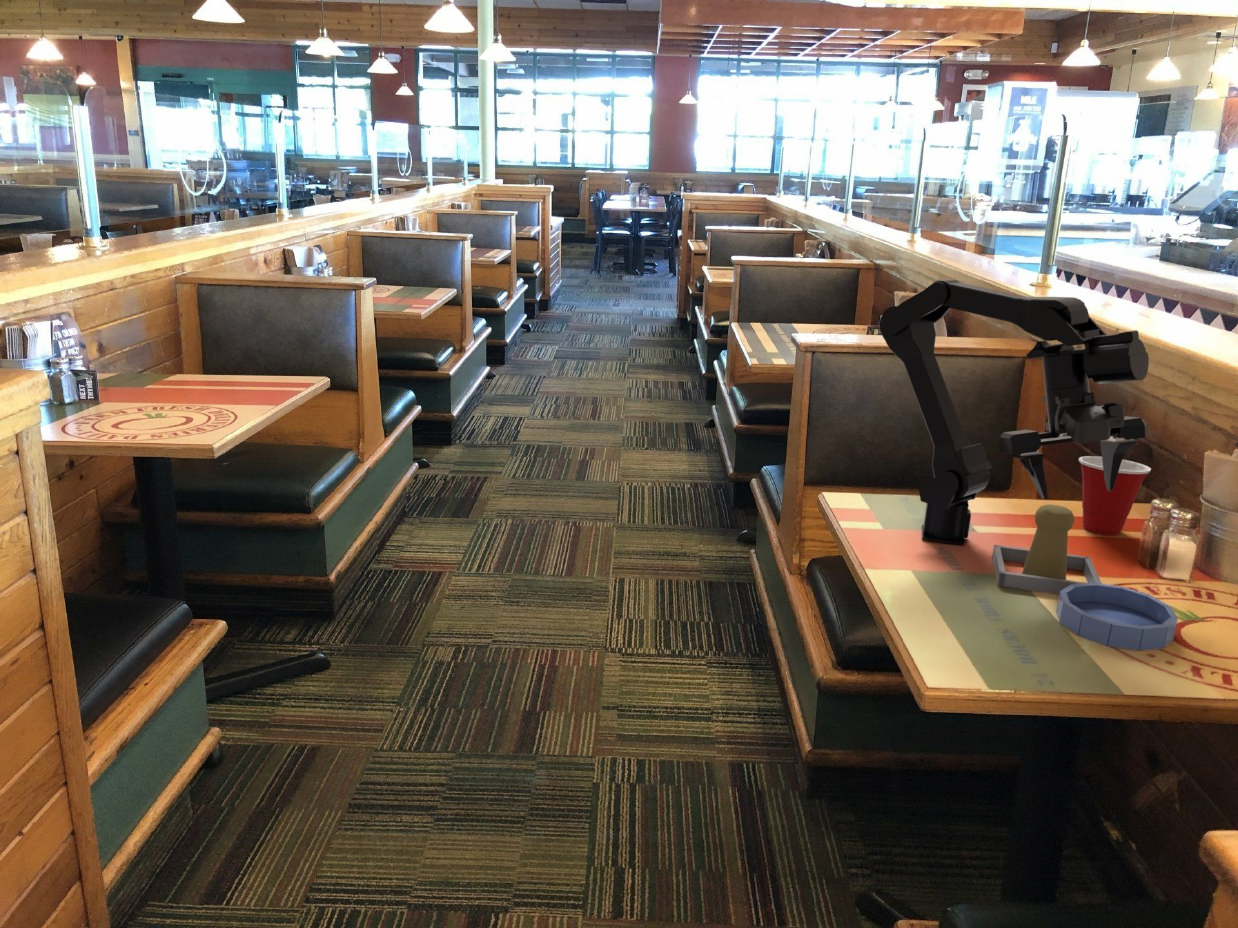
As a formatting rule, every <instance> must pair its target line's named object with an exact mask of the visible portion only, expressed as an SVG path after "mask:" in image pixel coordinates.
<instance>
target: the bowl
mask: <svg viewBox="0 0 1238 928" xmlns="http://www.w3.org/2000/svg"><path fill="white" fill-rule="evenodd" d="M1055 610H1056V611H1055V613H1056V615H1057V618H1058V622H1059V624H1061V625H1062V626H1063V627H1065V628H1066V629H1068V630H1070V632H1072V633H1074V634H1075V635H1077V636H1078V637H1081V638H1084V639H1086V640H1089V641H1093V642H1095V643H1098V644H1101V645H1104V646H1106V647H1110V648H1111V647H1112V648H1113V647H1114V648H1119V649H1126V650H1133V651H1139V652H1140V651H1149V650H1160V649H1165V647H1167V646H1168V645H1169V644H1170V643H1171V642H1172V641H1174V637H1175V632H1176V628H1177V623H1178V620H1179V618H1178V616H1177V615H1176V612H1175V611H1174V610H1173V608H1172V606H1170V605H1169V604H1167V603H1165V602H1163V601H1162V600H1160V599H1158V598H1156V597H1154V596H1153V595H1151V594H1147V593H1144V592H1141V591H1138V590H1135V589H1132V588H1128V587H1125V586H1121V585H1115V584H1113V585H1112V584H1106V583H1102V584H1100V583H1088V582H1085V583H1082V584H1071V585H1069V586H1068V587H1066V588H1064V589H1063V590H1061V591H1060V594H1058V599H1057V605H1056V609H1055Z"/></svg>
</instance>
